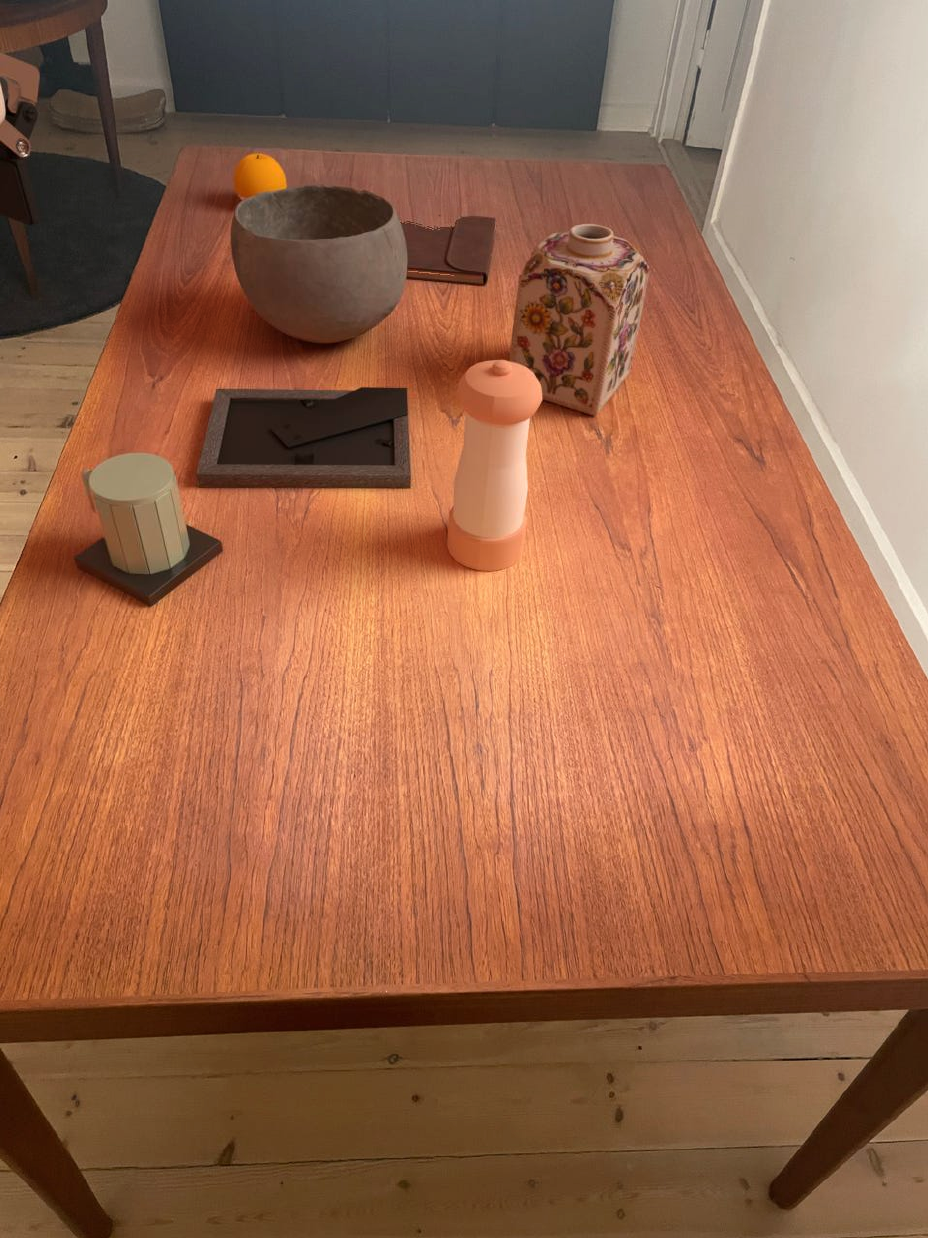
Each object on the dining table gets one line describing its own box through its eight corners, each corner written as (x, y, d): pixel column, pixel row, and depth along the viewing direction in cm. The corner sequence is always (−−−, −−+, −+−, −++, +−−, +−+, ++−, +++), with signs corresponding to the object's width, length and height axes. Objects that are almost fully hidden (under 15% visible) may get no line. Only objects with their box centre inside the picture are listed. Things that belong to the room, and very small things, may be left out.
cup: (149, 584, 78) (130, 510, 72) (68, 542, 81) (44, 468, 76) (204, 542, 82) (190, 469, 77) (125, 504, 86) (107, 431, 80)
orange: (277, 193, 146) (272, 142, 140) (296, 210, 141) (292, 159, 136) (228, 199, 143) (222, 148, 137) (246, 218, 138) (240, 166, 133)
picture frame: (406, 403, 103) (218, 400, 101) (406, 387, 102) (215, 384, 100) (410, 487, 92) (198, 487, 90) (411, 471, 90) (195, 470, 89)
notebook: (379, 275, 126) (379, 261, 125) (399, 221, 140) (399, 208, 139) (487, 285, 126) (488, 271, 124) (496, 230, 140) (497, 216, 138)
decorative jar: (596, 419, 103) (624, 263, 90) (504, 390, 106) (518, 236, 94) (631, 374, 111) (662, 224, 98) (544, 348, 114) (563, 200, 101)
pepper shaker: (486, 512, 90) (503, 331, 76) (539, 549, 86) (566, 366, 73) (431, 541, 86) (438, 357, 73) (483, 582, 82) (501, 396, 69)
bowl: (431, 313, 119) (435, 194, 109) (363, 386, 105) (360, 258, 95) (292, 280, 124) (283, 163, 113) (209, 346, 110) (190, 219, 99)
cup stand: (151, 606, 78) (132, 531, 72) (76, 567, 81) (52, 491, 75) (223, 551, 83) (210, 476, 78) (151, 515, 86) (133, 441, 81)
